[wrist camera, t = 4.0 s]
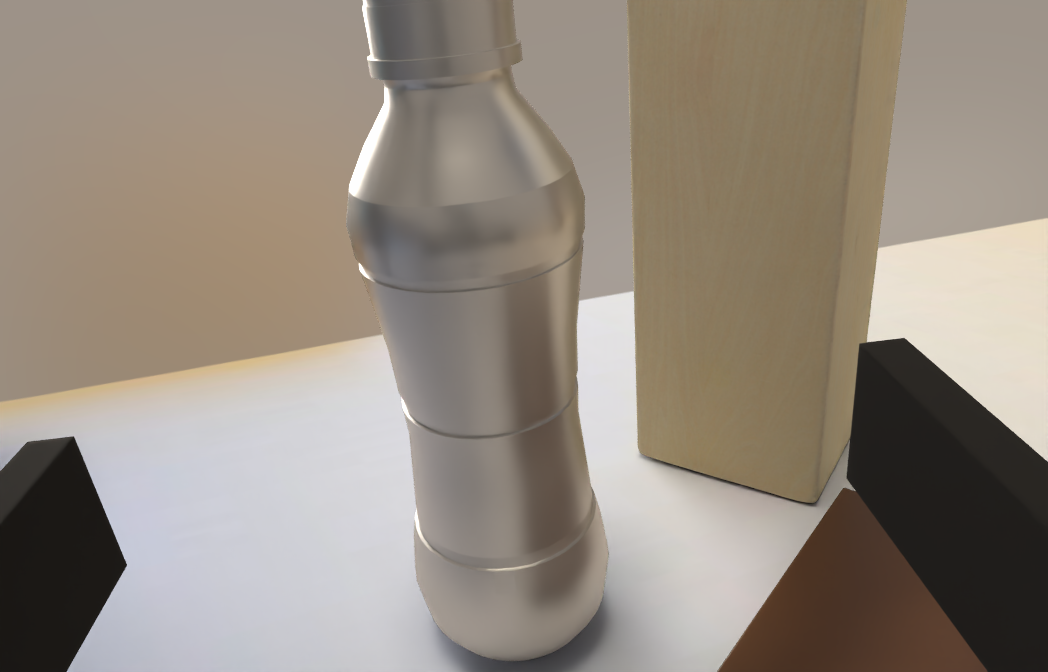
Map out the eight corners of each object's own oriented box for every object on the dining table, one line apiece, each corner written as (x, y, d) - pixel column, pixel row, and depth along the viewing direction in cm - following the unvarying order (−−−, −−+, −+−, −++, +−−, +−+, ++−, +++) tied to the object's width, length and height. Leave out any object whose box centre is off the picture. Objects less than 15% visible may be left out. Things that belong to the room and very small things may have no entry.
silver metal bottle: (573, 528, 31) (524, -26, 22) (645, 656, 25) (616, -28, 16) (412, 573, 30) (292, 0, 21) (449, 721, 24) (304, 8, 15)
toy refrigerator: (866, 418, 36) (924, -105, 27) (820, 509, 31) (873, -104, 22) (702, 382, 40) (703, -80, 31) (636, 456, 35) (614, -73, 26)
